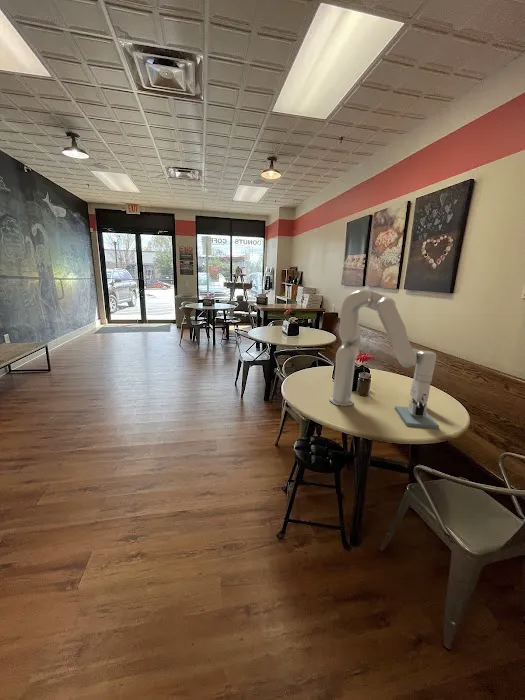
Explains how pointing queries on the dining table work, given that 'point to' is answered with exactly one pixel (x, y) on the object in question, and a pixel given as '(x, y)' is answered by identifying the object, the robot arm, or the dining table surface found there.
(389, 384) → the dining table surface
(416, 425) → the base plate
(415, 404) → the collar
